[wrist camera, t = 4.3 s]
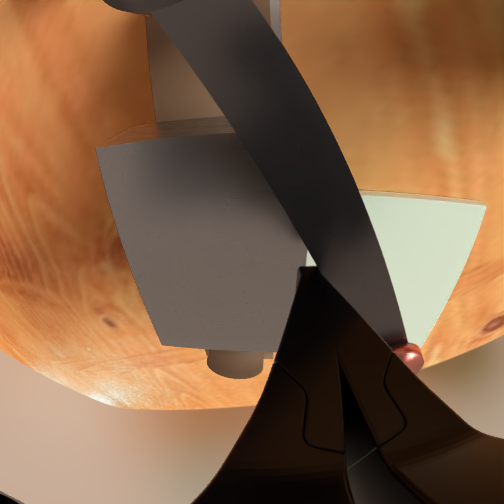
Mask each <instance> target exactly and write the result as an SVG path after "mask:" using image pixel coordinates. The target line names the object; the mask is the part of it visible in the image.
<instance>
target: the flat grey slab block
mask: <svg viewBox="0 0 504 504" xmlns="http://www.w3.org/2000/svg"><path fill="white" fill-rule="evenodd" d="M95 149H96V153H97V158H98V162H99V166H100V170H101V174H102V178H103V182H104V186H105V190H106V193H107V197H108V200H109V204H110V207H111V211H112V214H113V217H114V221H115V224H116V227H117V230H118V233H119V237H120V240H121V243H122V246H123V249H124V251H125V254H126V257H127V260H128V263H129V266H130V268H131V271H132V274H133V277H134V279H135V282H136V285H137V287H138V290H139V292H140V295H141V297H142V300H143V302H144V305H145V307H146V310H147V312H148V314H149V317H150V319H151V322H152V324H153V326H154V328H155V331H156V333H157V335H158V337H159V340H160V342H161V344H162V345H165V346H175V347H186V348H198V349H211V350H228V351H251V352H277V351H278V348H279V345H280V341H281V338H282V335H283V332H284V329H285V326H286V322H287V319H288V316H289V313H290V309H291V306H292V303H293V299H294V296H295V291H296V280H297V270H298V268H299V267H300V266H306V260H307V248H306V246H305V244H304V243H303V241H302V239H301V238H300V236H299V234H298V232H297V231H296V229H295V227H294V226H293V224H292V222H291V221H290V219H289V217H288V216H287V214H286V212H285V211H284V209H283V207H282V206H281V204H280V202H279V201H278V199H277V197H276V196H275V194H274V192H273V191H272V189H271V188H270V186H269V184H268V183H267V181H266V179H265V178H264V176H263V175H262V173H261V171H260V170H259V168H258V167H257V165H256V163H255V162H254V160H253V159H252V157H251V156H250V154H249V152H248V151H247V149H246V148H245V146H244V145H243V143H242V142H241V140H240V139H239V137H238V135H237V134H236V132H235V131H234V129H233V128H232V126H231V125H230V123H229V122H228V120H227V119H226V117H225V116H218V117H204V118H192V119H182V120H173V121H165V122H157V123H150V124H144V125H137V126H131V127H129V128H128V129H126V130H124V131H122V132H121V133H119V134H118V135H116V136H114V137H113V138H111V139H109V140H108V141H106V142H105V143H103V144H101V145H100V146H98V147H97V148H95Z"/></svg>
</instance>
